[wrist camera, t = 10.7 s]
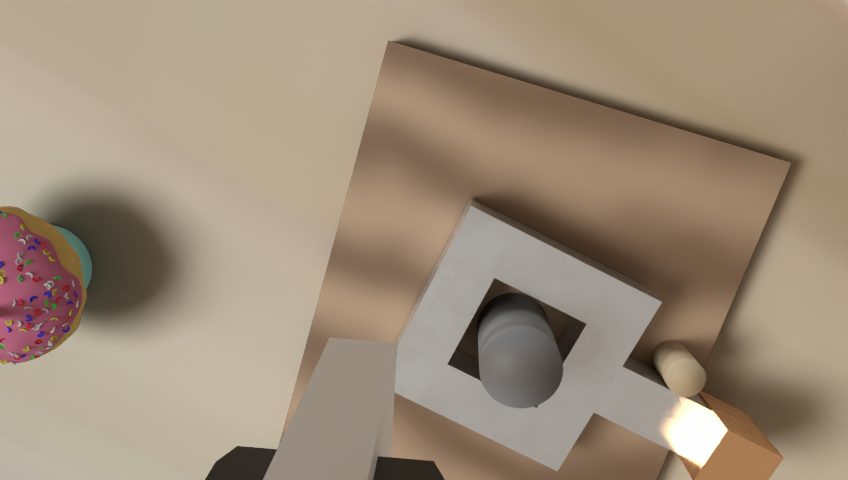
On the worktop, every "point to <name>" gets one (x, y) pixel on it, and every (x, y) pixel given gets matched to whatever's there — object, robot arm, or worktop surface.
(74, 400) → the worktop surface
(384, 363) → the robot arm
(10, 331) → the cupcake
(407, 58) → the base board
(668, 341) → the dowel
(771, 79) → the worktop surface
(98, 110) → the worktop surface
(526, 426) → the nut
